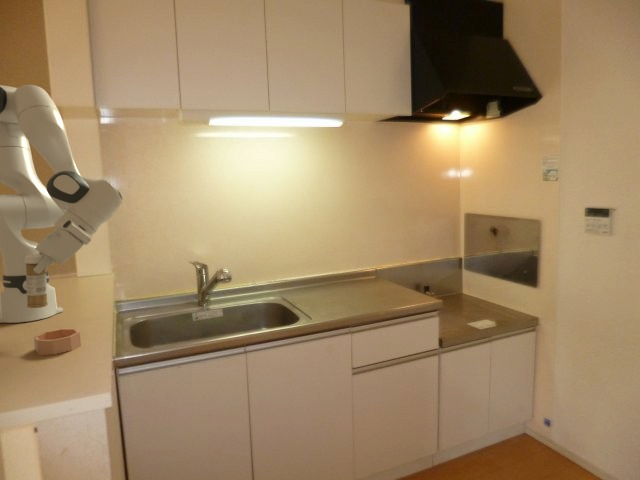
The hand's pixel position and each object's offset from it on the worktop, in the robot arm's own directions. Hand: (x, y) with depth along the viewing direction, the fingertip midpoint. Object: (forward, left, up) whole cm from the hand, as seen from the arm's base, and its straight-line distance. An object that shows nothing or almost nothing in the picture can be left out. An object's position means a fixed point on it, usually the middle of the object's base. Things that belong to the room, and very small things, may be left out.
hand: (32, 270), depth 110 cm
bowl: (+8, +3, -19) cm, 21 cm away
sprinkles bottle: (0, 0, -10) cm, 10 cm away
